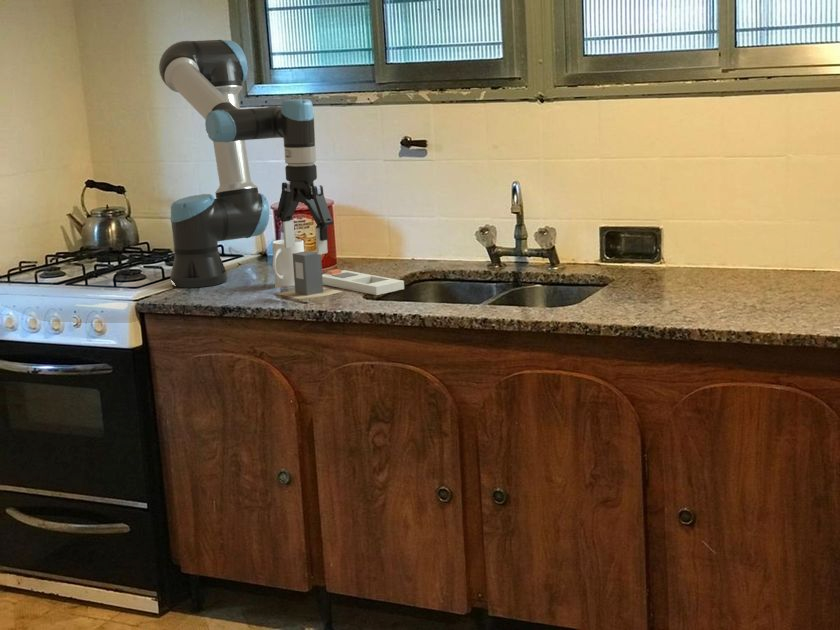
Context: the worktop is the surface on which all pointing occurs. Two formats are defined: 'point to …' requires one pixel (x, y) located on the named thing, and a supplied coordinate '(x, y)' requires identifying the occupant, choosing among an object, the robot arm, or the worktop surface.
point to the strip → (361, 282)
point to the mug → (285, 262)
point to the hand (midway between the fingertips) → (305, 250)
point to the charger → (307, 273)
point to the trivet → (304, 297)
